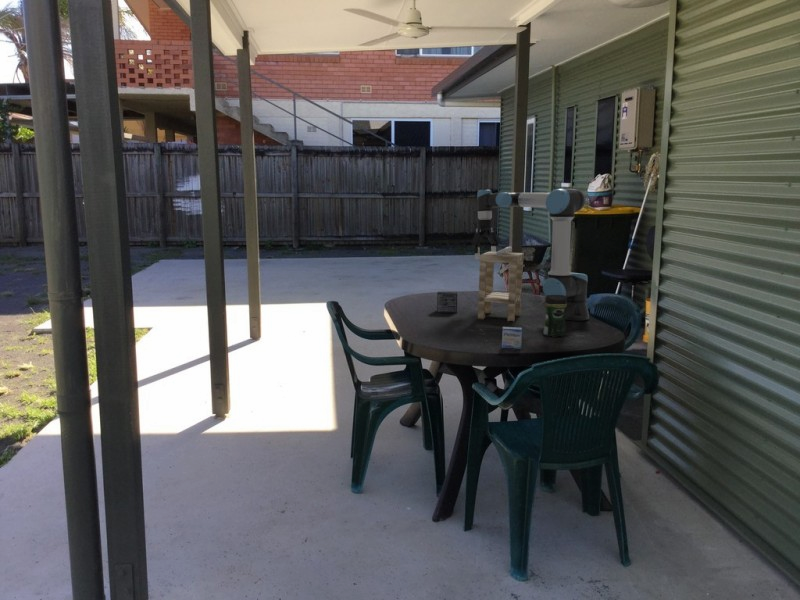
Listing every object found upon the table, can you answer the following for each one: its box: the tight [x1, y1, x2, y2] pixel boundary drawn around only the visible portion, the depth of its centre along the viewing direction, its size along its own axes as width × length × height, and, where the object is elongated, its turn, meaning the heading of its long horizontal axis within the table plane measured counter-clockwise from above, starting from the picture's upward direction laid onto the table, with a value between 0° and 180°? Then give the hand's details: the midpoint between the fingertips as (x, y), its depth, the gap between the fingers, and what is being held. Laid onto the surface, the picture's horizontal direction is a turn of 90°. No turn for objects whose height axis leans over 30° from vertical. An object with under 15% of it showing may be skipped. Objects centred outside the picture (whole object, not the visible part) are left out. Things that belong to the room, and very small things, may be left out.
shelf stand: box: [477, 250, 525, 323], centre depth 335 cm, size 18×18×32 cm
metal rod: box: [496, 246, 513, 256], centre depth 336 cm, size 26×2×2 cm, turn 159°
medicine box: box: [501, 326, 523, 350], centre depth 276 cm, size 8×4×9 cm, turn 81°
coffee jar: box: [542, 295, 567, 338], centre depth 298 cm, size 10×8×19 cm
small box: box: [436, 291, 458, 314], centre depth 348 cm, size 11×6×10 cm, turn 84°
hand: (485, 258), depth 358 cm, fingers open, 13 cm apart
